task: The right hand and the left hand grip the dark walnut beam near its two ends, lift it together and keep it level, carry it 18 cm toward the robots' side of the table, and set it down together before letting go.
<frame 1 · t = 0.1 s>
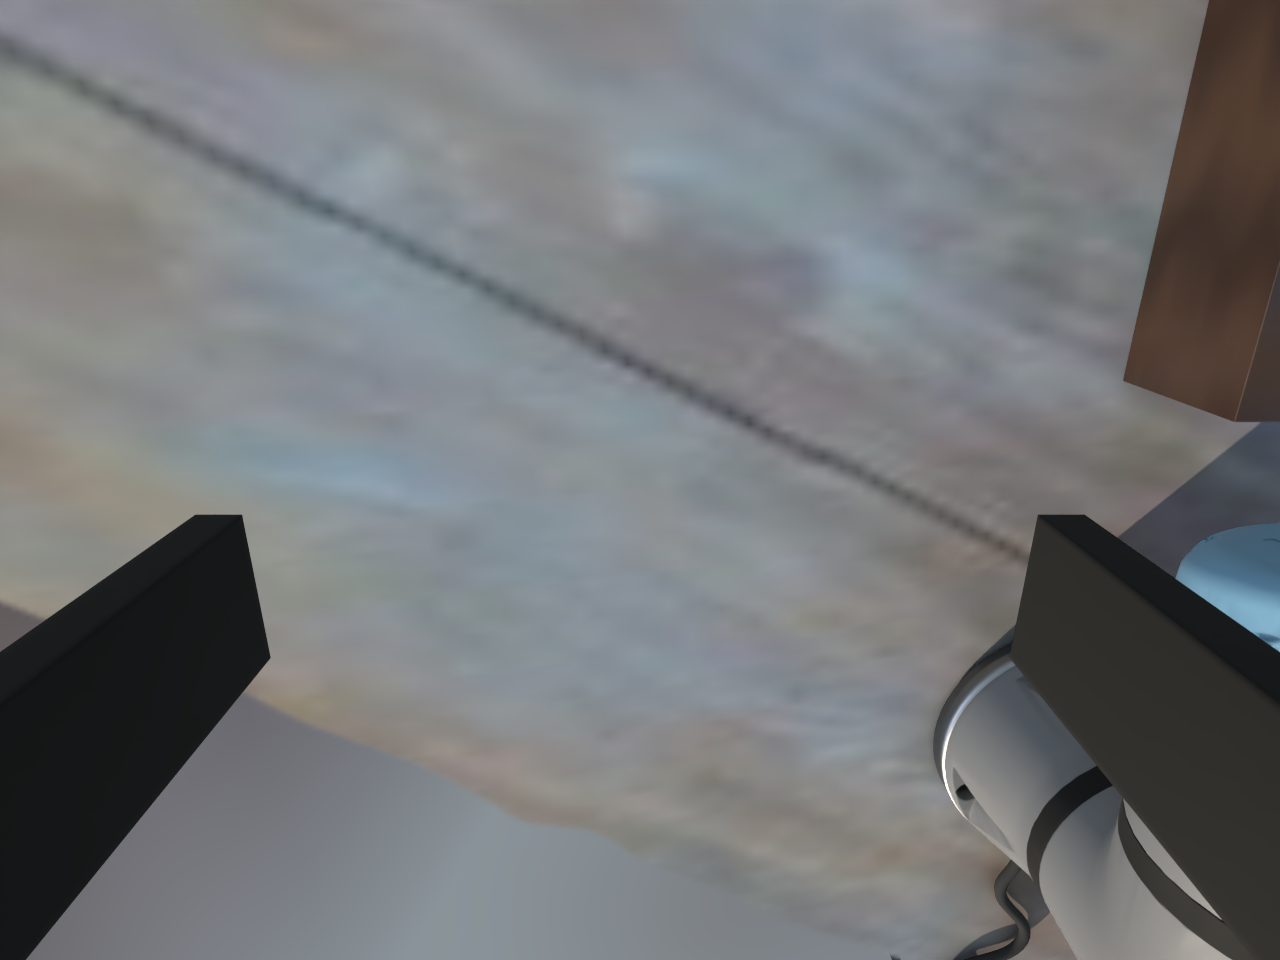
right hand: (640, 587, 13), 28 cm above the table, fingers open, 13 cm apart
walnut beam: (1266, 36, 34), on the table
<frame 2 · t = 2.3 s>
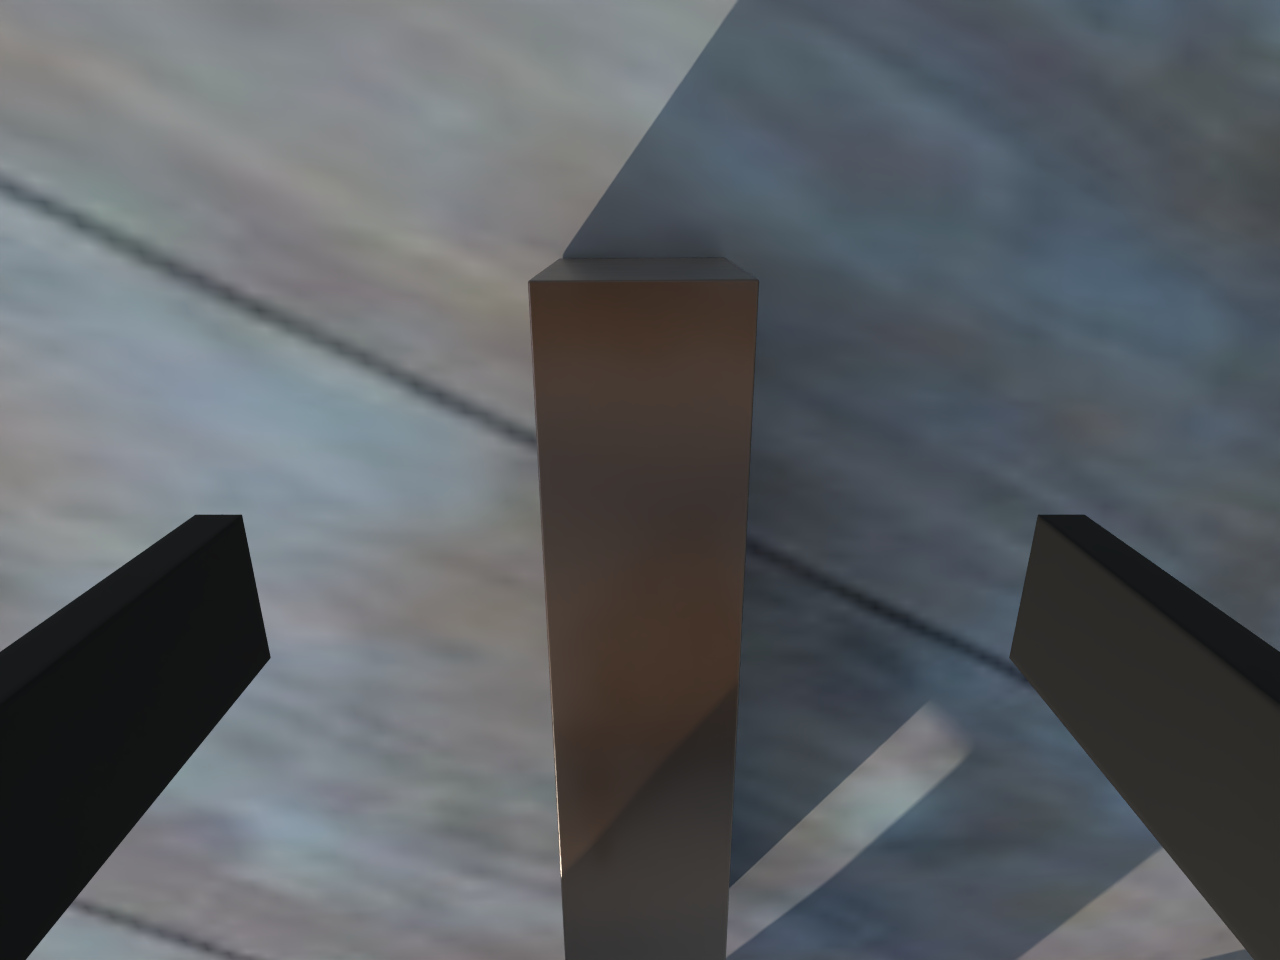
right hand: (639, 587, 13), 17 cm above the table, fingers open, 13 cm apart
walnut beam: (643, 642, 32), on the table
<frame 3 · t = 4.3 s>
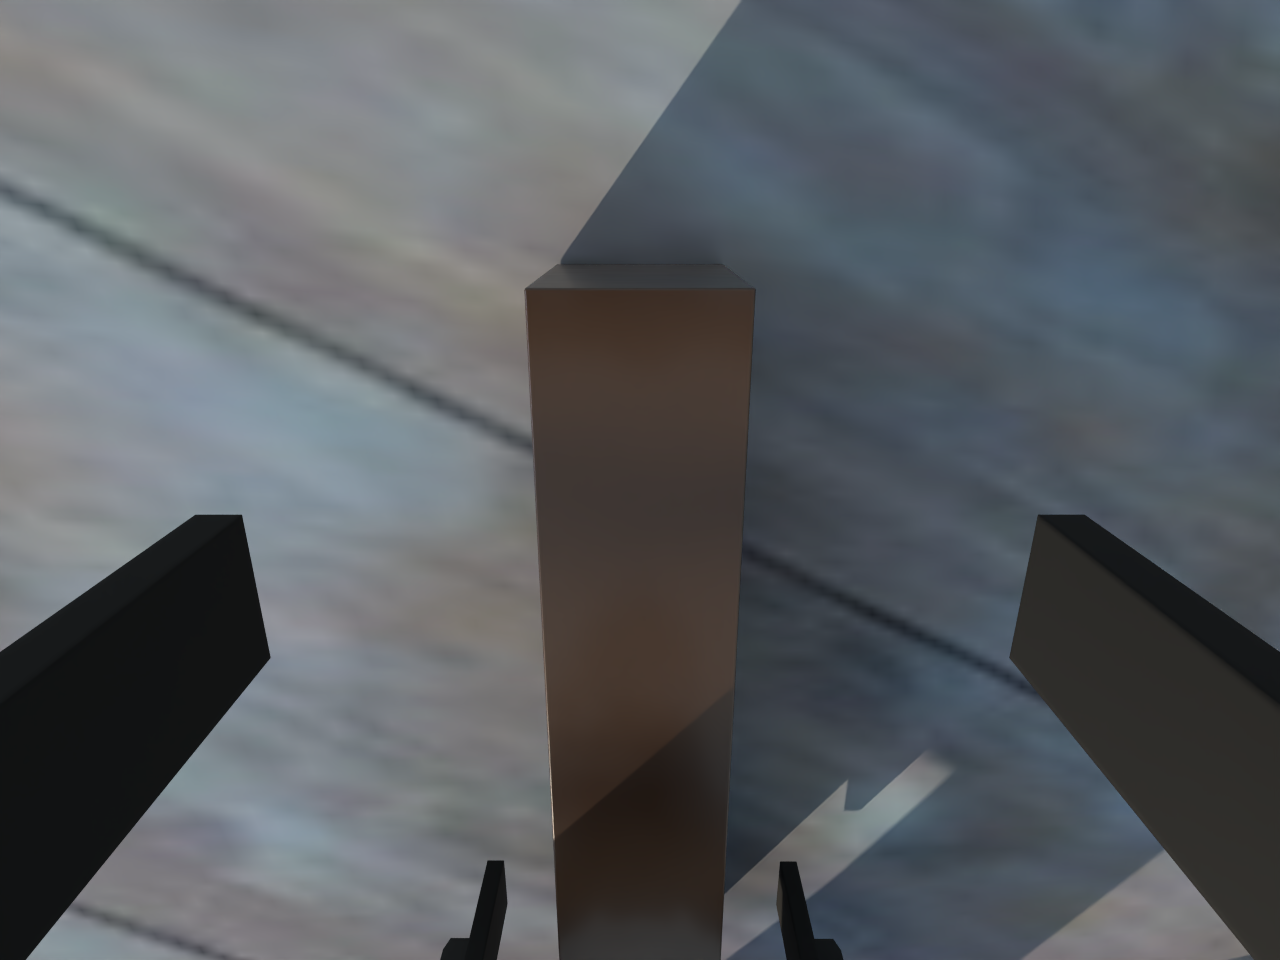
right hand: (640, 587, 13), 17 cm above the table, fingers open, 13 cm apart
walnut beam: (640, 647, 32), on the table
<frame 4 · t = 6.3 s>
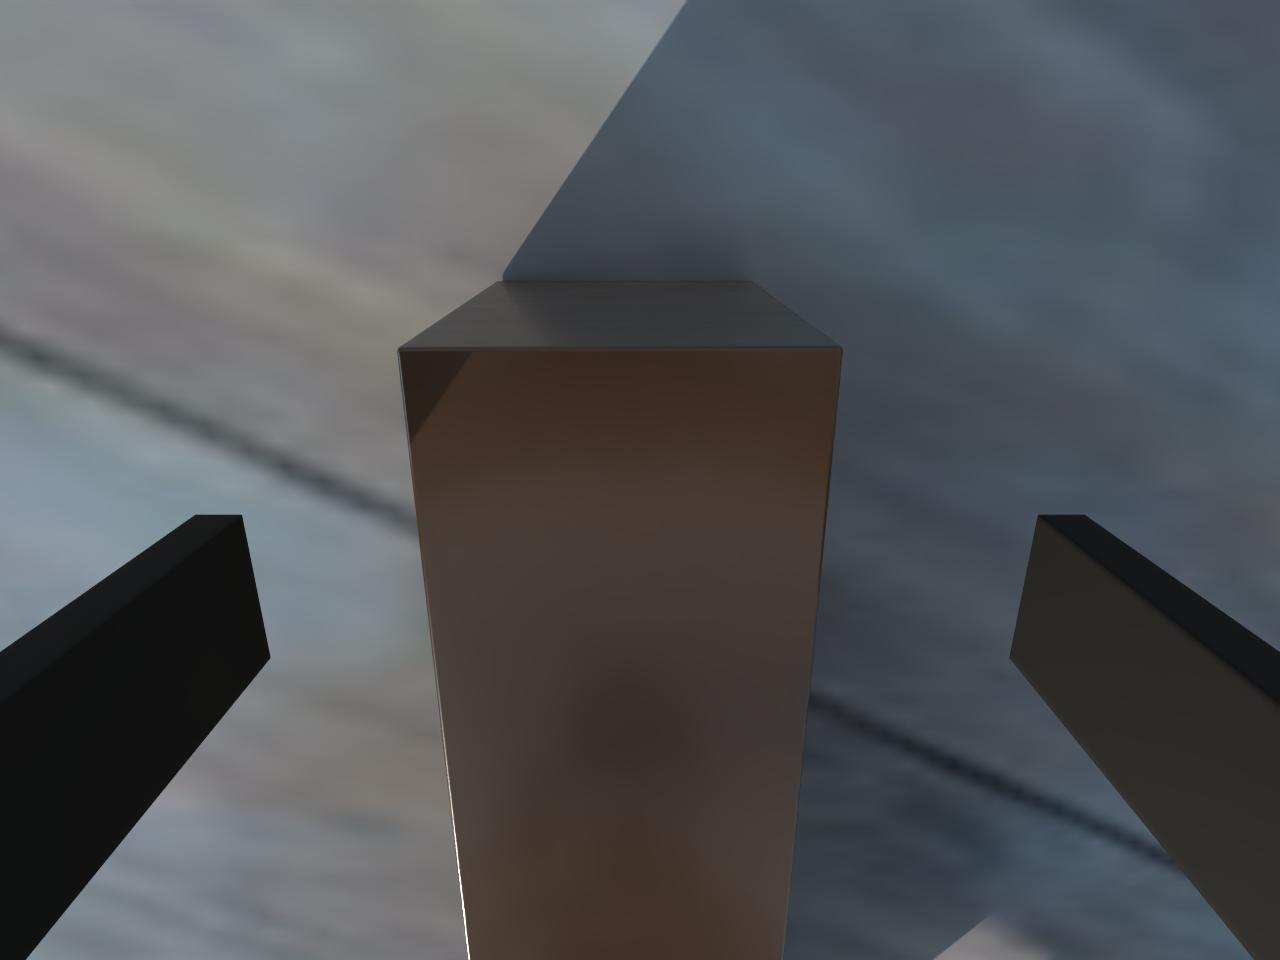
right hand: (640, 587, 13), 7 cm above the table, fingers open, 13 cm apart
walnut beam: (628, 812, 23), on the table
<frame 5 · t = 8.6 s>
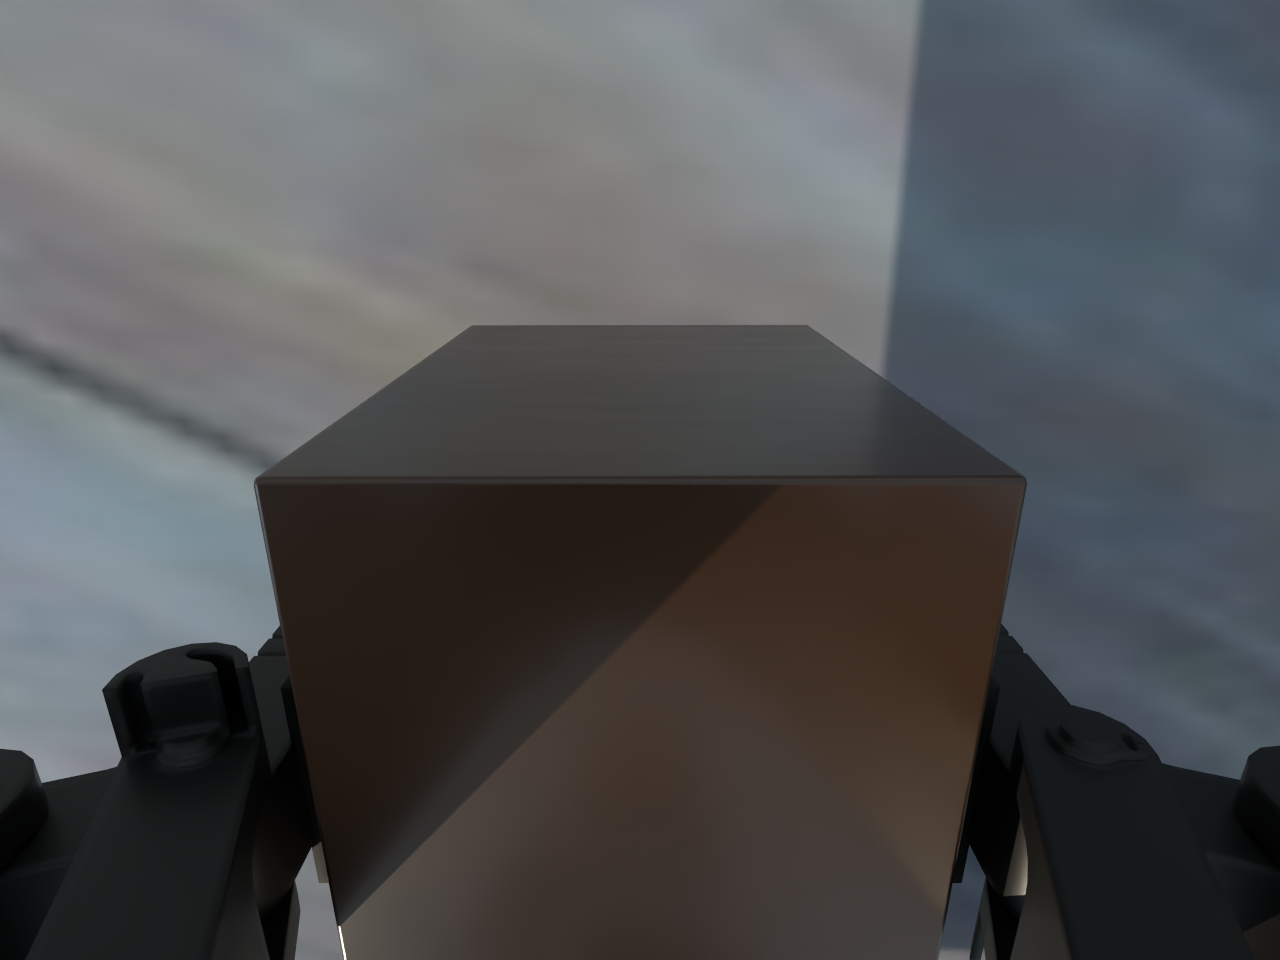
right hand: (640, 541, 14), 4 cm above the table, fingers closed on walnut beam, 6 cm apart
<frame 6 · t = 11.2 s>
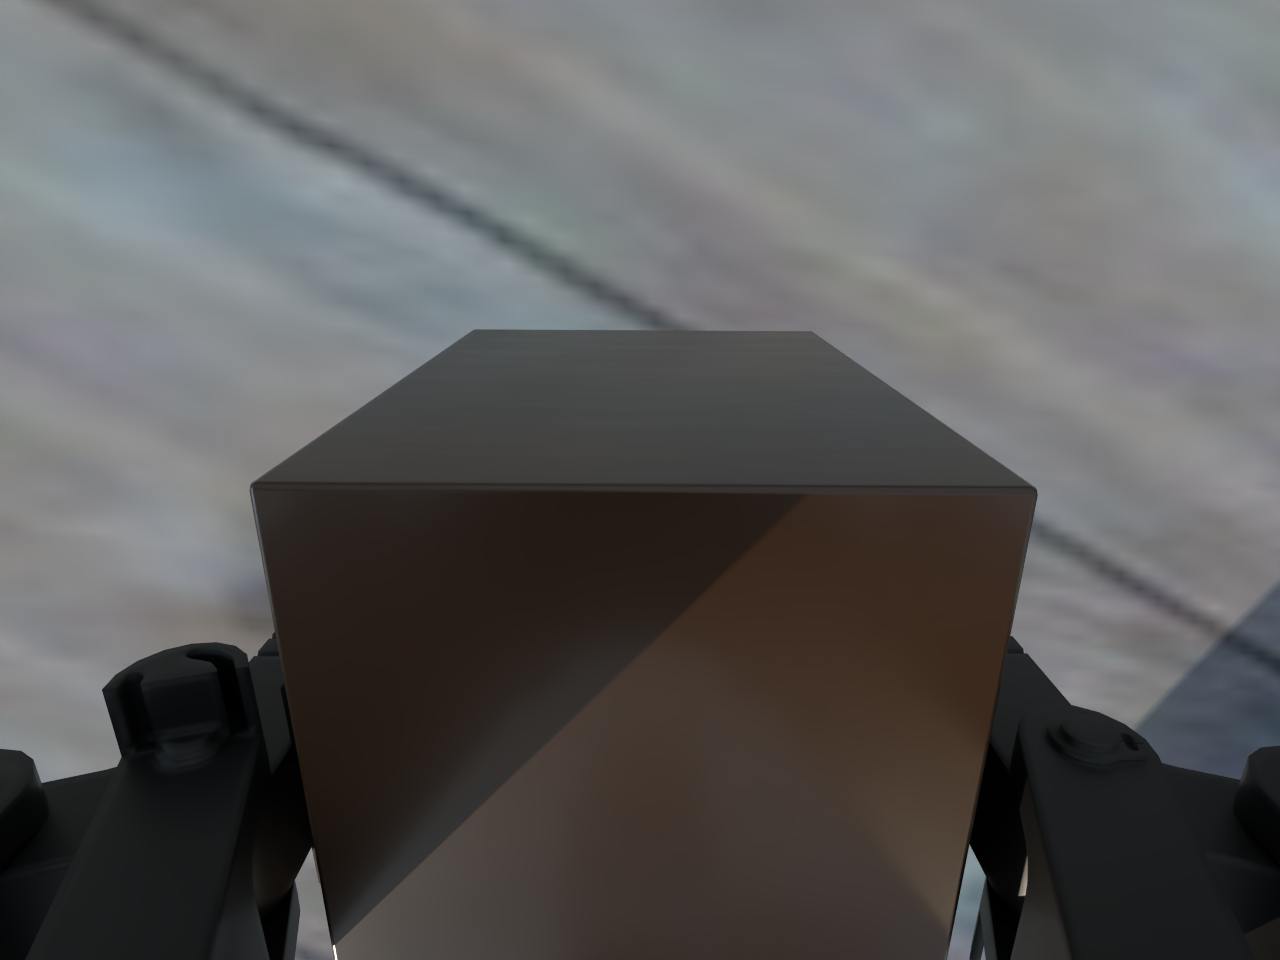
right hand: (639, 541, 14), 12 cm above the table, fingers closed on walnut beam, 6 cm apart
when the left hand's fingers open (0 cm above the table, at t = 14.2 s): walnut beam stays where it is, on the table.
when the right hand's fingers open (0 cm above the table, at t = 14.2 s): walnut beam stays where it is, on the table.
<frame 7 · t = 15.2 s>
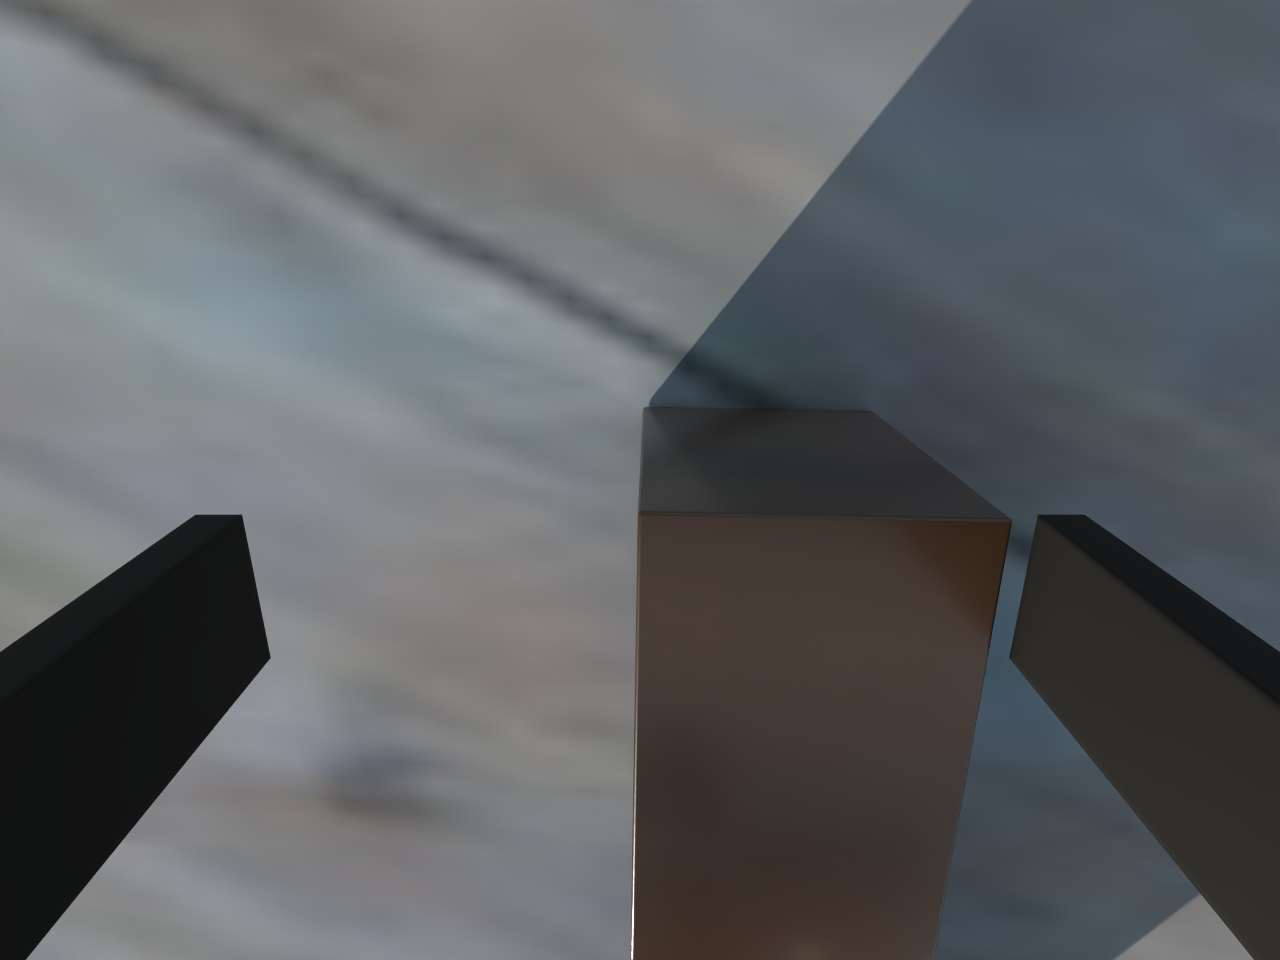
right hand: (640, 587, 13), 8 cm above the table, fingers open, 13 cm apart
walnut beam: (726, 889, 24), on the table
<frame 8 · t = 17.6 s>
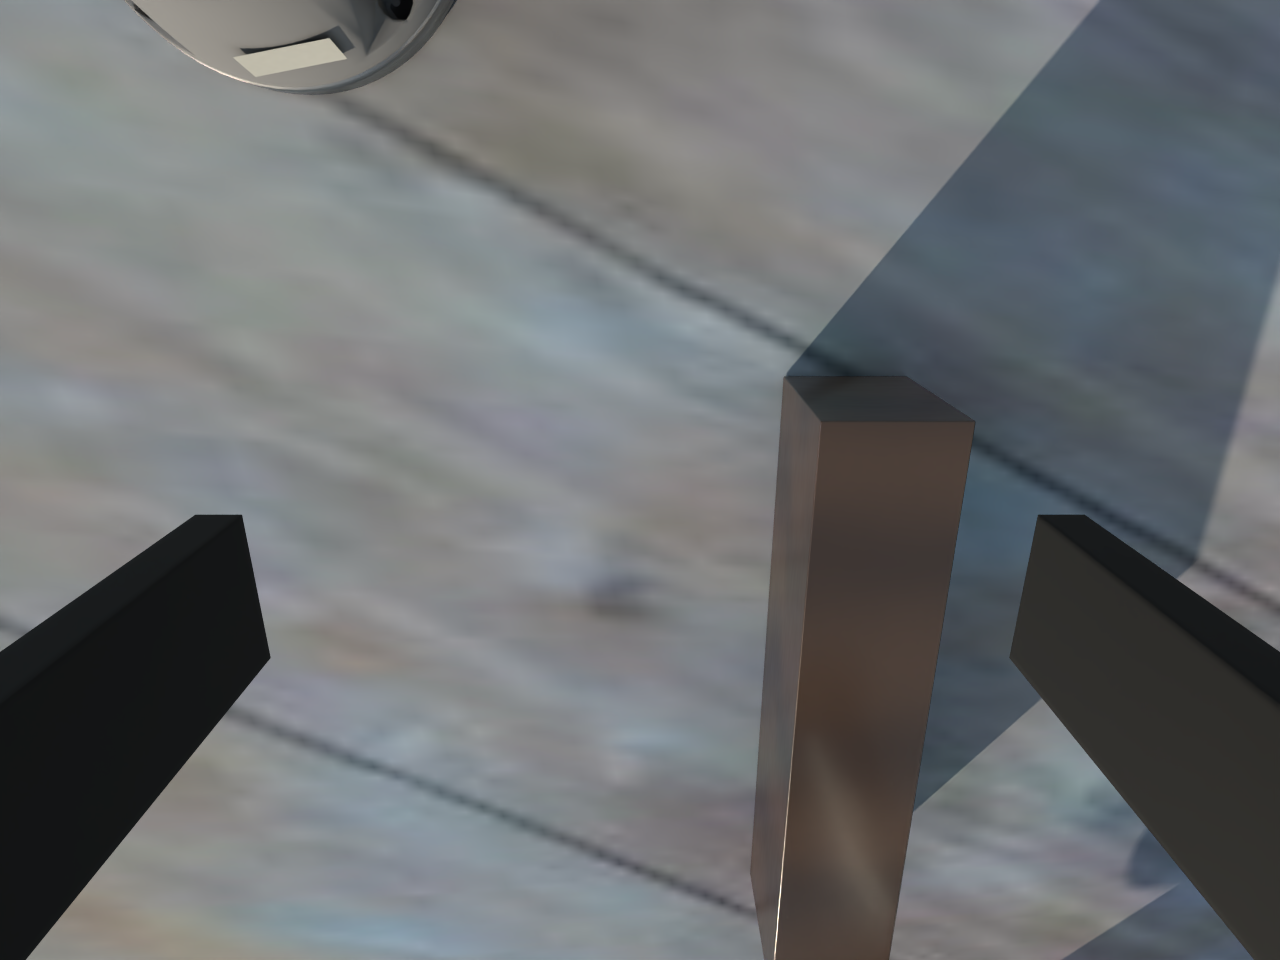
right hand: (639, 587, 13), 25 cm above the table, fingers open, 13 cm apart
walnut beam: (818, 657, 42), on the table
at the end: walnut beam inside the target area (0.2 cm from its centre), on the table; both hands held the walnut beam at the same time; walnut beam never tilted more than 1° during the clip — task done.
